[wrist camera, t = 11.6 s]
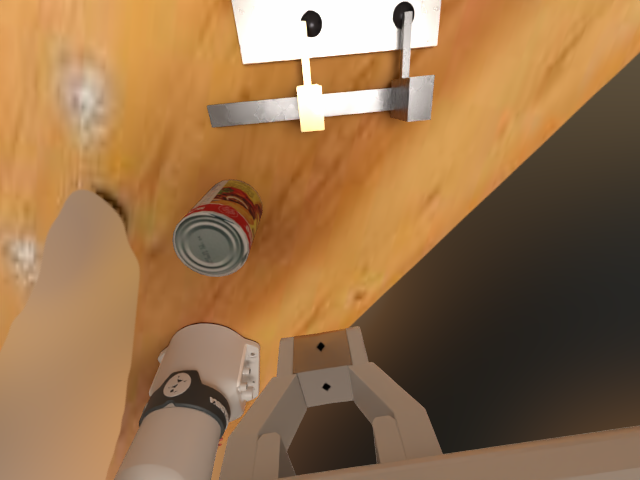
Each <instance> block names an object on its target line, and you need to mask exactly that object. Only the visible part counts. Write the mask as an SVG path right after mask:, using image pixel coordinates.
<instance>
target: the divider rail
mask: <svg viewBox="0 0 640 480" xmlns="http://www.w3.org/2000/svg"><path fill="white" fill-rule="evenodd" d="M412 13H413V11H409V12H404V13H403V14H402V36H401V60H400V79H396V80H392V83H391V88H384V89H373V90H363V91H353V92H342V93H332V94H322V102H323V115H324V117H326V116H336V115H346V114H356V113H367V112H377V111H387V110H391V118H395V119H399V120H403V121H407V122H410V121H420V120H431V109H432V98H433V87H434V76H435V75H428V76H418V77H409V68H410V50H411V31H412ZM207 109H208V113H209V117H210V121H211V125H212V127H222V126H233V125H243V124H253V123H264V122H274V121H284V120H295V119H300V115H299V106H298V97H290V98H280V99H269V100H259V101H249V102H238V103H228V104H217V105H208V106H207Z"/></svg>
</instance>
